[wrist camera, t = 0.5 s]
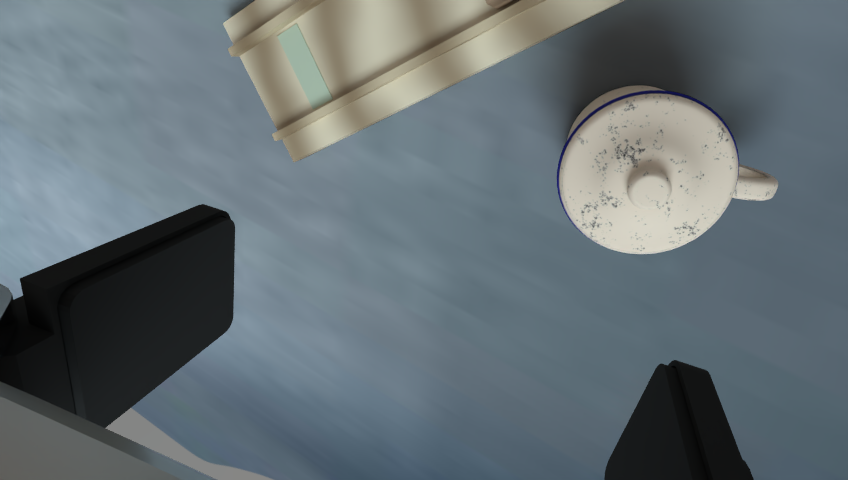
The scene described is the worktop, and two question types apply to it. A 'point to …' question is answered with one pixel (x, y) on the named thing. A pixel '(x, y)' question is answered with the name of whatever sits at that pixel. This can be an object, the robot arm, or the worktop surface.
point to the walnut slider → (498, 3)
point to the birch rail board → (378, 55)
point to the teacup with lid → (651, 170)
